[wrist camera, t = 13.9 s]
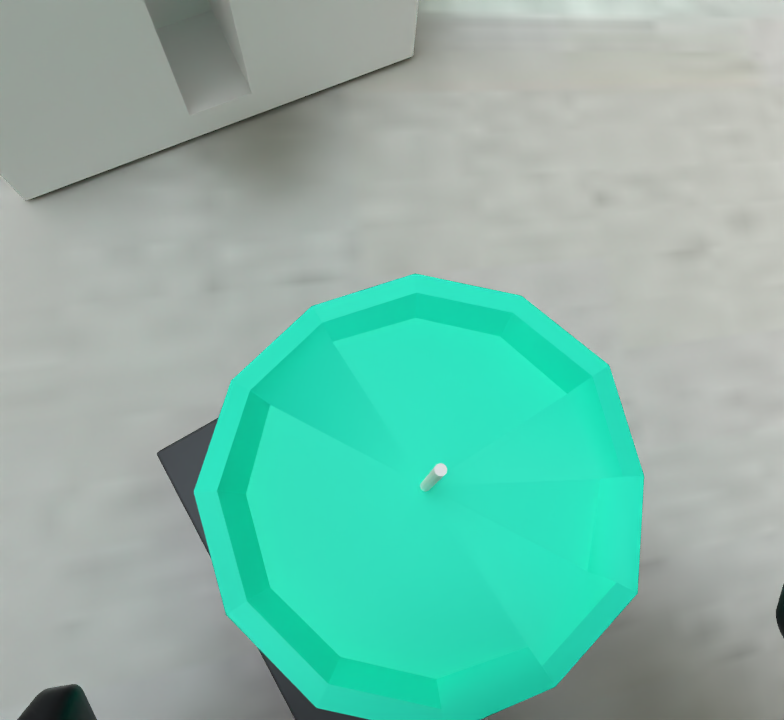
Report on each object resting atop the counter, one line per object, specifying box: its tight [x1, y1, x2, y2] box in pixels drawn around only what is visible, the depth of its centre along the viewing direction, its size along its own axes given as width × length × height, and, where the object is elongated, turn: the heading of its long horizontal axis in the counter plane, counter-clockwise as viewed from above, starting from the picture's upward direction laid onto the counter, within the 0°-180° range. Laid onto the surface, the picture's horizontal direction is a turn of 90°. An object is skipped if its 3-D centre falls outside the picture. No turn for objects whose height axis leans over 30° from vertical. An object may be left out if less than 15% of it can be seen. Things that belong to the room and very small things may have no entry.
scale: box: [157, 418, 369, 720], centre depth 21 cm, size 11×10×3 cm
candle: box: [194, 274, 644, 720], centre depth 13 cm, size 6×6×12 cm
